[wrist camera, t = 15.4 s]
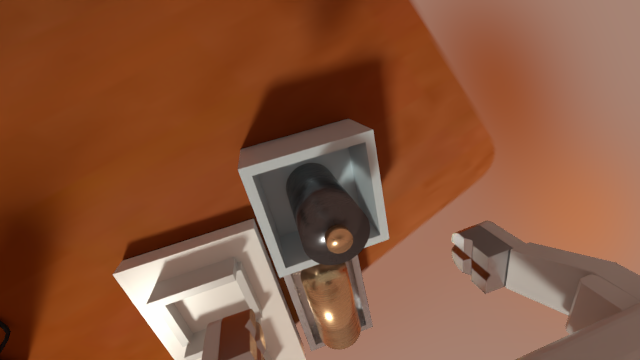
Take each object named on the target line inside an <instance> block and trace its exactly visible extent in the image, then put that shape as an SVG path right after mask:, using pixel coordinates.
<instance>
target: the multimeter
mask: <svg viewBox="0 0 640 360" xmlns="http://www.w3.org/2000/svg"><path fill="white" fill-rule="evenodd" d="M0 327H1V328H2V329H3V330H4V331H5V333H6V334H5V338H4V340H3V342H2V344H1V345H0V353H1V351H2V350H3V348H4V347H5V345H6V343H7V341H8V340H9V336H10V332H11V331H10V329H9V327H8V326H7V325H5V324H4V323H3V322H2V321H0Z"/></svg>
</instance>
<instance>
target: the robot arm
mask: <svg viewBox="0 0 640 360" xmlns="http://www.w3.org/2000/svg"><path fill="white" fill-rule="evenodd" d="M452 242H453V243H454V244H455V245H454V247H453V248H452V258H453V260H454V263H455V264H456V266H457V267H458V268H459V269H460V270H461V271H462V272H463V273H465V274H468V275H471V280H472V282H473V283H474V284H475V285H476V286H477V287H478V288H479V289H481V290H482V291H483V292H484V293H485V294H486V293H489V292H491V291H494V290H497V289H500V288H502V287H505V286H506V288H508V289H510V290H512V291H514V292H517V293H519V294H521V295H523V296H525V297H528V298H530V299H532V300H534V301H537V302H539V303H541V304H543V305H546V306H548V307H550V308H552V309H555V310H557V311H559V312H562V313H564V314H566V315H568V320H567V323H566V331H567V332H568V333H569V334H570V335H568V336H566V337H564V338H561V339H560V340H557V341H555V342H553V343H550V344H548V345H546V346H544V347H542V348H540V349H538V350H535V351H533V352H531V353H529V354H526V355H524V356H522V357H520V358H518V359H516V360H640V275H638V274H636V273H634V272H632V271H630V270H628V269H626V268H625V267H623V266H621V265H619V264H617V263H615V262H611V261H607V260H602V259H598V258H594V257H590V256H585V255H581V254H576V253H572V252H568V251H564V250H560V249H556V248H551V247H547V246H543V245H538V244H534V243H527V244H526V243H524V242H523V241H521V240H519V239H518V238H516V237H515V236H513V235H512V234H510V233H508V232H507V231H505V230H504V229H502V228H500V227H499V226H497V225H496V224H494V223H493V222H491V221H484V222H482V223H479V224H477V225H474V226H471V227H468V228H466V229H463V230H461V231H458V232H456V233H453V235H452ZM265 351H266V346H265V339H264V334H263V331H262V328H261V325H260V323H258V322H256V318H255V313H254V311H253V310H252V309H248V310H245V311H242V312H239V313H236V314H233V315H231V316H228V317H225V318H222V319H220V320H217V321H214V322H211V323H209V324H208V326H207V328H206V333H205V340H204V346H203V353H202V359H201V360H265V359H264V357H263V355H264V353H265Z"/></svg>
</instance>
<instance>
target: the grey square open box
mask: <svg viewBox="0 0 640 360" xmlns="http://www.w3.org/2000/svg"><path fill="white" fill-rule="evenodd" d="M306 163H318V164H321V165H323V166H325V167H326V168H327V169H328V170H329V171H330V172H331V173H332V174H333V176H334V177H335V178H336V179H337V180H338V182H339V183H340V184H341V185H342V187H343V188H344V189H345V190H346V191H347V193H348V194H349V195H350V196H351V197H352V199H353V200H354V201H355V202H356V204H357V205H358V206H359V207H360V208H361V210H362V211H363V212H364V213H365V215H366V216H367V218H368V220H369V224H370V235H369V238H368V241H367V243H366V245H365V247H368V246H371V245H374V244H377V243H379V242H382V241H385V240H388V239H389V234H388V227H387V220H386V213H385V207H384V200H383V193H382V186H381V179H380V172H379V165H378V159H377V152H376V145H375V138H374V131H373V129H371V128H368V127H366V126H364V125H362V124H360V123H357V122H355V121H353V120H351V119H345V120H341V121H338V122H334V123H331V124H327V125H324V126H320V127H317V128H313V129H310V130H306V131H303V132H299V133H296V134H292V135H289V136H285V137H282V138H278V139H275V140H271V141H268V142H264V143H261V144H257V145H254V146H250V147H247V148H243V149H241V150H240V158H239V165H238V171H239V174H240V177H241V179H242V182H243V184H244V187H245V190H246V192H247V195H248V197H249V200H250V203H251V205H252V208H253V210H254V213H255V216H256V218H257V221H258V223H259V226H260V229H261V231H262V234H263V236H264V239H265V241H266V244H267V247H268V249H269V252H270V254H271V257H272V260H273V262H274V265H275V267H276V270H277V273H278V275H279V278H281V277H284V276H287V275H289V274H292V273H295V272H298V271H301V270H303V269H306V268H309V267H312V266H315V265H317V264H319V263H317V262H315V261H313V260H312V259H310V258H309V257H308V256H307V254H306V253H305V251H304V249H303V246H302V242H301V239H300V236H299V232H298V229H297V226H296V222H295V219H294V216H293V213H292V209H291V206H290V203H289V199H288V196H287V192H286V183H287V179H288V177H289V175H290V174H291V173H292V171H293V170H295V169H296V168H297V167H299V166H301V165H303V164H306ZM365 247H364V248H365Z"/></svg>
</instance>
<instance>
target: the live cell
mask: <svg viewBox="0 0 640 360" xmlns="http://www.w3.org/2000/svg"><path fill="white" fill-rule="evenodd" d="M301 281H302V284H303V287H304V290H305V293H306V296H307V299H308V302H309V305H310V307H311V310H312V313H313V316H314V319H315V322H316V325H317V328H318V331H319V334H320V337H321V339H322V341H323V343H324V344H325V345H327V346H328V347H330V348H332V349H345V348H347V347H349V346H351V345H353V344H354V343H355V342H356V340H357V339H358V337H359V335H360V332H361V325H360V320H359V316H358V312H357V308H356V304H355V300H354V295H353V291H352V287H351V283H350V279H349V275H348V270H347V266H346V263H345V262H344V263H341V264H337V265H323V264H317V265H315V266H312V267H309V268H306V269H303V270H302V272H301Z"/></svg>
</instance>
